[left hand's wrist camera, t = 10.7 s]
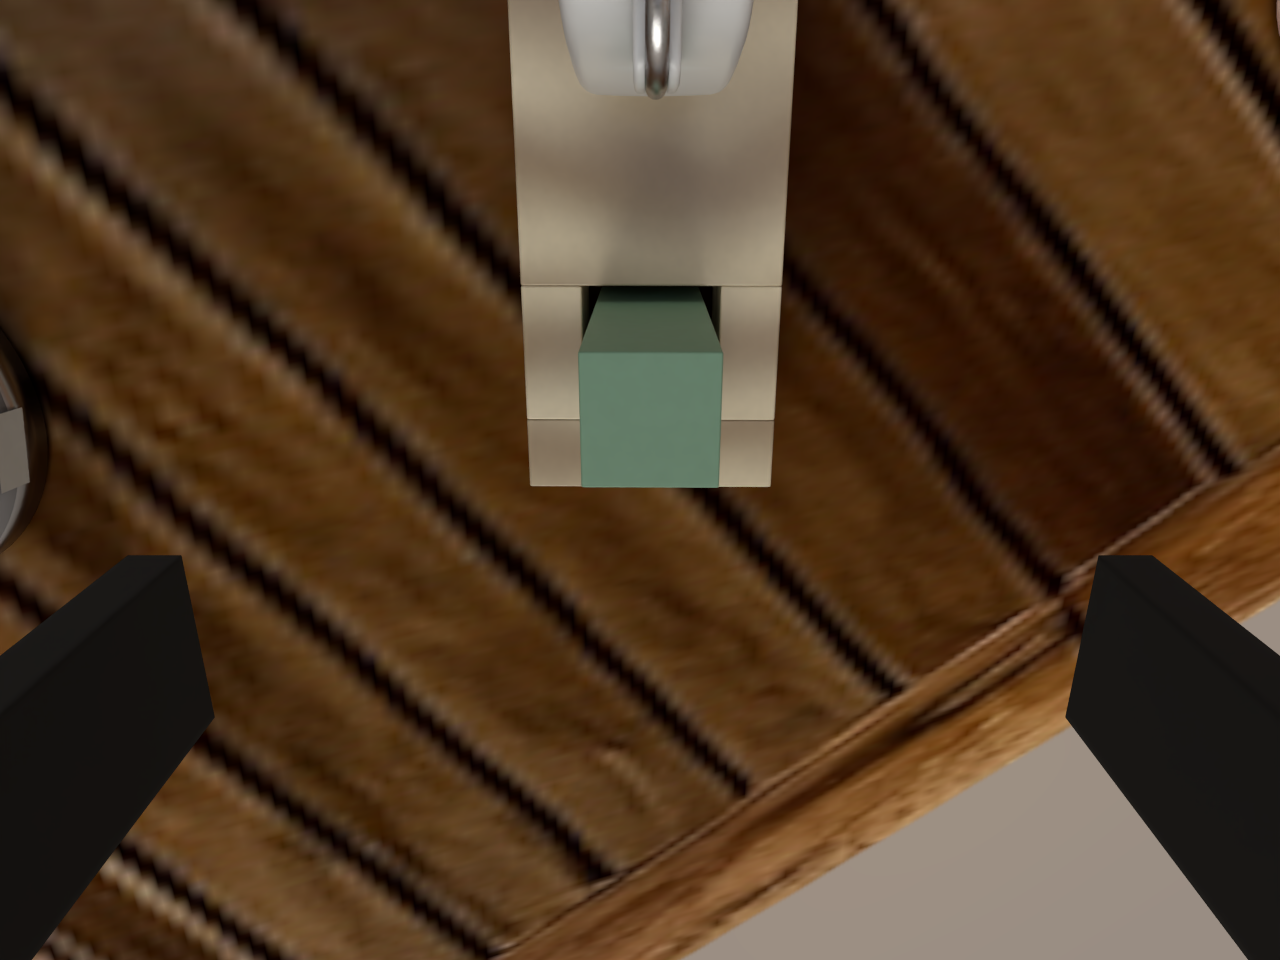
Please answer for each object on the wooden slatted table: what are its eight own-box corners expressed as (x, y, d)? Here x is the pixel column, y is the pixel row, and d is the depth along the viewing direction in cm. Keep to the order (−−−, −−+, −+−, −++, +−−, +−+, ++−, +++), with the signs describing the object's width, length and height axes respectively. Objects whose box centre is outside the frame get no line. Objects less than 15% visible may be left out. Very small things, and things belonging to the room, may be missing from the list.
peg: (602, 381, 35) (581, 487, 24) (601, 286, 34) (577, 351, 23) (696, 381, 35) (719, 488, 24) (699, 286, 34) (723, 351, 23)
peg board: (758, 453, 36) (796, 556, 27) (542, 452, 36) (505, 555, 27) (797, -337, 27) (877, -596, 18) (509, -336, 27) (437, -594, 18)
